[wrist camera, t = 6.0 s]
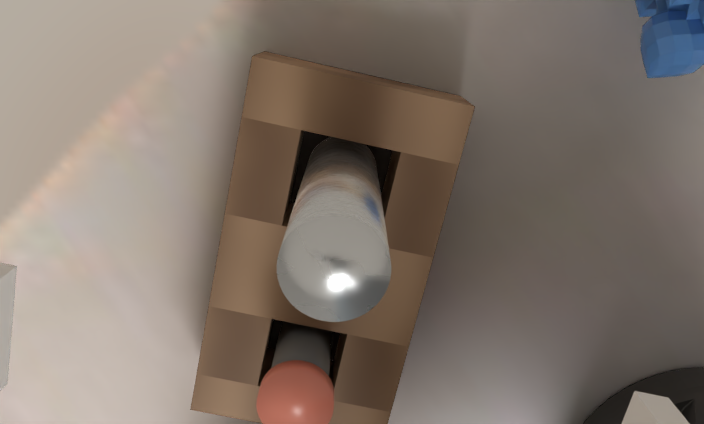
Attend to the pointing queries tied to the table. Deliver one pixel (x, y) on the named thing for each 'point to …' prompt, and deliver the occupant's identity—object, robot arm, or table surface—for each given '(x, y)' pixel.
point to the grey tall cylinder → (336, 236)
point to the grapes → (672, 36)
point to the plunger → (298, 378)
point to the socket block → (273, 217)
